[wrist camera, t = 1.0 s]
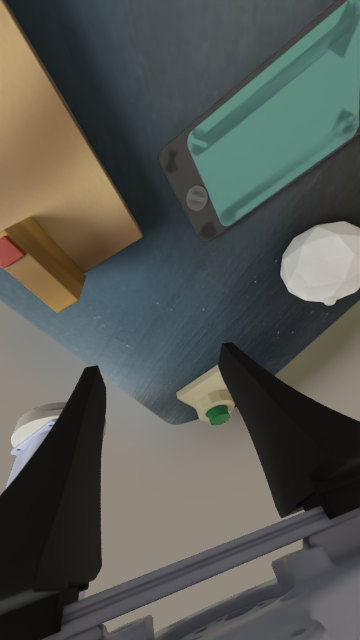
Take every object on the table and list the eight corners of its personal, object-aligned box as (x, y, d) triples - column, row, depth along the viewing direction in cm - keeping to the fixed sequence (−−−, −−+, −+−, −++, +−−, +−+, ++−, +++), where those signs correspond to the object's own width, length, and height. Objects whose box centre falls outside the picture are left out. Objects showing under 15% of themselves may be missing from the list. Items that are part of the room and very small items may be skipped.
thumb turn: (86, 276, 14) (78, 302, 11) (68, 287, 15) (56, 316, 12) (31, 215, 12) (1, 230, 9) (9, 229, 12) (-27, 249, 9)
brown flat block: (139, 227, 16) (143, 237, 14) (60, 276, 17) (50, 293, 15) (-14, -33, 9) (-63, -108, 6) (-146, 77, 9) (-233, 46, 7)
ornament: (331, 260, 23) (344, 324, 20) (267, 254, 24) (269, 316, 21) (390, 205, 17) (421, 287, 14) (298, 199, 17) (309, 277, 14)
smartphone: (156, 154, 13) (387, -42, 10) (154, 155, 14) (364, -23, 11) (206, 248, 17) (375, 127, 15) (201, 243, 18) (359, 130, 16)
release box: (205, 409, 37) (210, 425, 34) (175, 392, 31) (180, 410, 29) (251, 380, 35) (260, 395, 32) (228, 357, 29) (237, 373, 27)
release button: (212, 416, 34) (216, 427, 32) (203, 411, 32) (207, 422, 30) (228, 407, 33) (233, 417, 32) (219, 401, 31) (224, 411, 30)
